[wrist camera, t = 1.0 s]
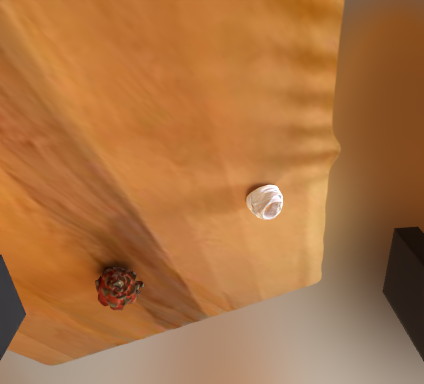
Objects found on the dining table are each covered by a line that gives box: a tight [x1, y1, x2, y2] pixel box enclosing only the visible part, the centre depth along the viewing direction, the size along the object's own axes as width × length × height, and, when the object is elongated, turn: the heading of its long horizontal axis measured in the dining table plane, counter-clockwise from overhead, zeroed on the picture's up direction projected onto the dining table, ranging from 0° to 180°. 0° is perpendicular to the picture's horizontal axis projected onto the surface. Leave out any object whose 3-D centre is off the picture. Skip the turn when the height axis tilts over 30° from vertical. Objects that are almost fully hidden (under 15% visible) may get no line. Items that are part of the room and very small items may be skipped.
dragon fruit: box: [95, 267, 144, 311], centre depth 76 cm, size 8×8×12 cm
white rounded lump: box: [246, 185, 283, 220], centre depth 68 cm, size 8×7×5 cm
